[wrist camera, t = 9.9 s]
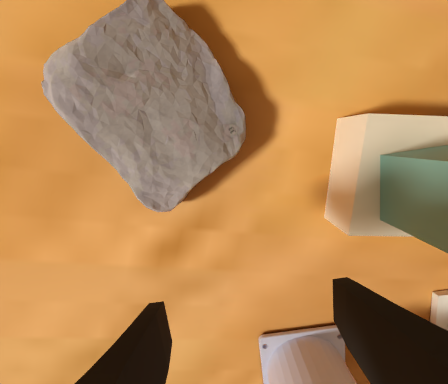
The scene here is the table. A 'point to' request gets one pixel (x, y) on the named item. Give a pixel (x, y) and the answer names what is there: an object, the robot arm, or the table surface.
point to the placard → (439, 309)
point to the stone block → (147, 100)
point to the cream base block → (372, 166)
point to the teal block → (416, 193)
